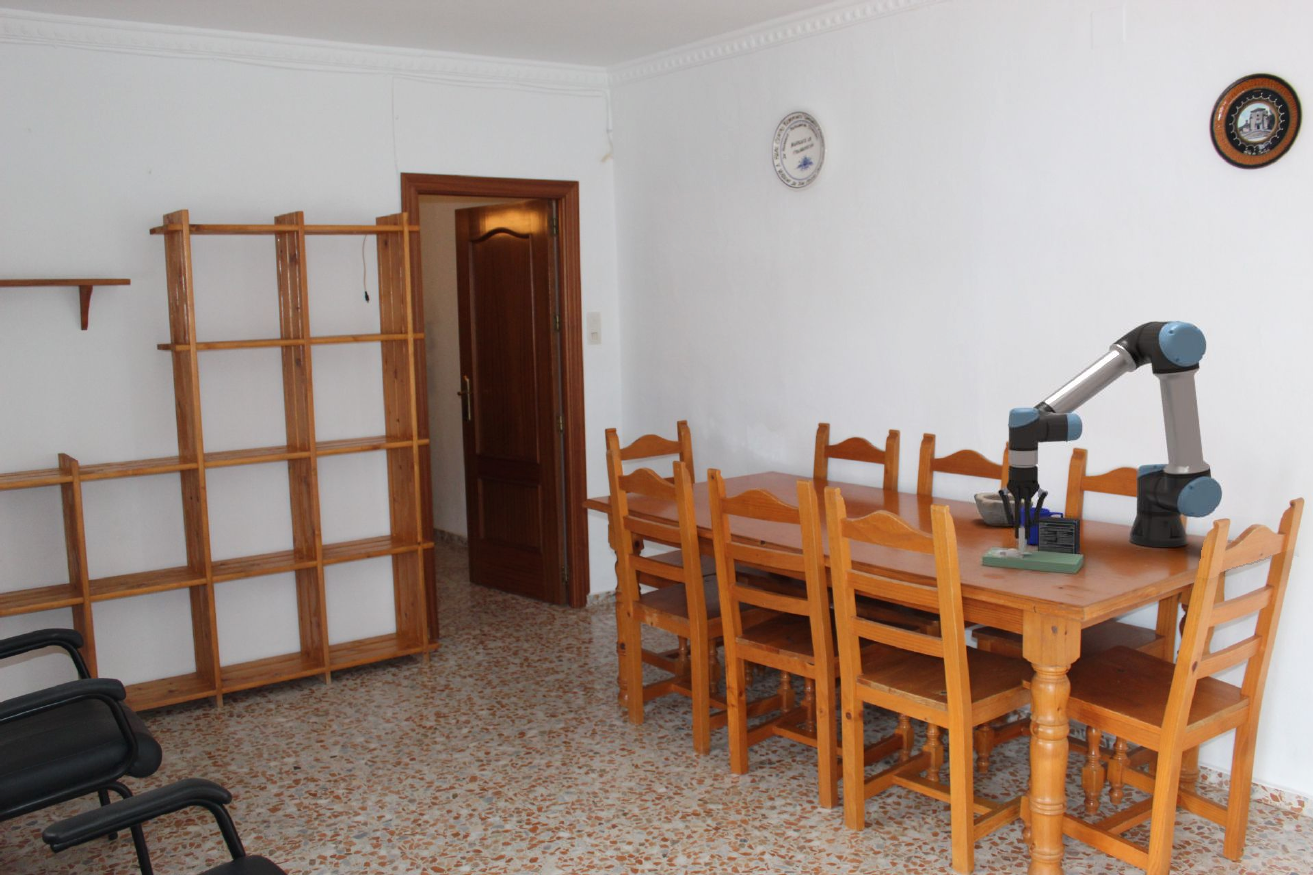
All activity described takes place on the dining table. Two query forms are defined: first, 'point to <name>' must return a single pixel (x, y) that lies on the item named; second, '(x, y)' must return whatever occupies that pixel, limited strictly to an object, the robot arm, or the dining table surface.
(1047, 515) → the mug
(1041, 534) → the small box
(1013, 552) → the ball
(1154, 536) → the robot arm
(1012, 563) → the green
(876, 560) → the dining table surface
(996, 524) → the mortar
